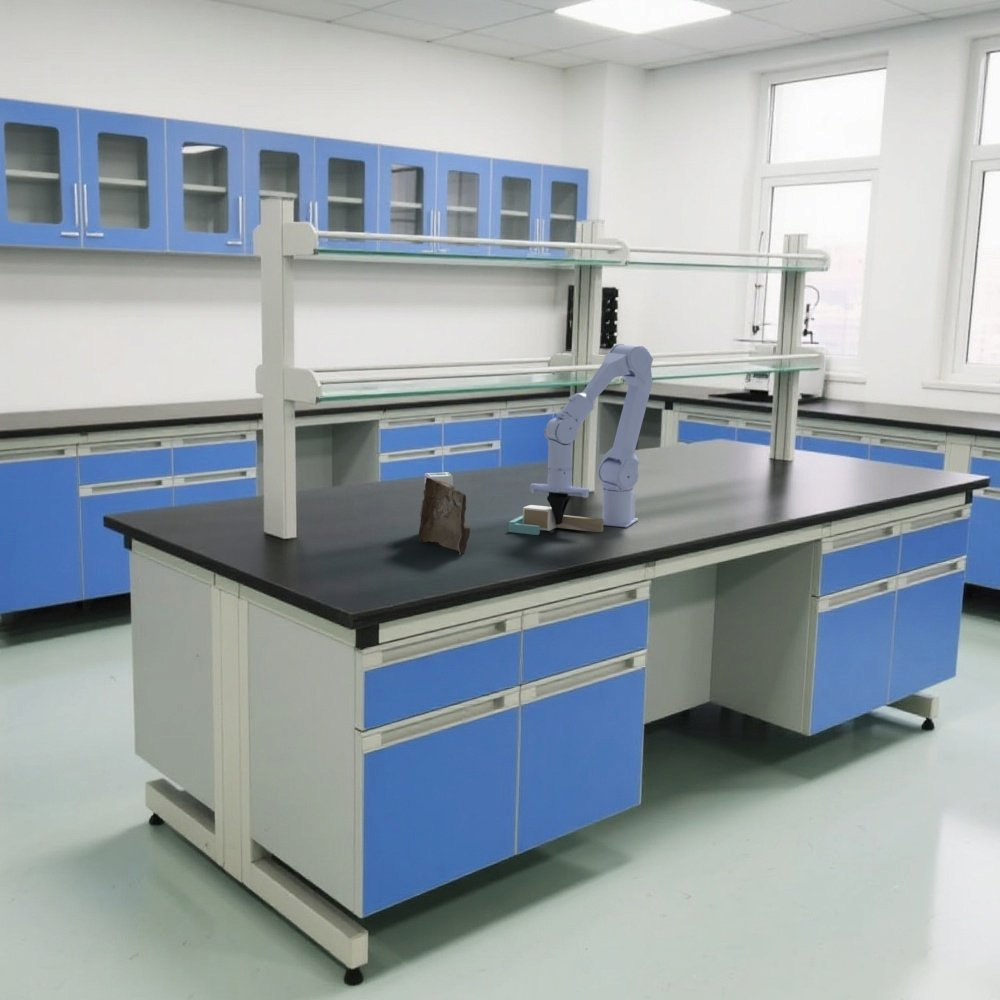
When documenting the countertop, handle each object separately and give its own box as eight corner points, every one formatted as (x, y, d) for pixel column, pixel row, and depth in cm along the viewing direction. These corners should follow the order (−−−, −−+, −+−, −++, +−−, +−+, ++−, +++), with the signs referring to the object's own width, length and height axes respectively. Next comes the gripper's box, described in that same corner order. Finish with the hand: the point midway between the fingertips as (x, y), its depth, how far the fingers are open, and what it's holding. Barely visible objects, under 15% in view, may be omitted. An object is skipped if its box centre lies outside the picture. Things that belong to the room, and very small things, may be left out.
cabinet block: (529, 524, 273) (530, 504, 272) (556, 527, 270) (556, 507, 269) (522, 527, 269) (522, 507, 268) (548, 530, 266) (549, 510, 265)
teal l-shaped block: (524, 524, 274) (524, 514, 273) (552, 527, 271) (553, 517, 270) (508, 531, 265) (508, 521, 265) (537, 535, 262) (537, 524, 262)
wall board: (527, 522, 275) (527, 511, 274) (603, 531, 267) (603, 519, 266) (524, 524, 274) (524, 512, 273) (601, 532, 265) (601, 520, 265)
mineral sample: (418, 542, 254) (418, 477, 251) (432, 540, 257) (433, 475, 254) (459, 557, 241) (460, 489, 238) (474, 555, 243) (475, 487, 240)
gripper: (525, 468, 264) (524, 523, 267) (582, 473, 258) (580, 530, 261) (536, 464, 271) (535, 518, 273) (592, 469, 265) (591, 524, 267)
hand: (558, 523), depth 268 cm, fingers closed
